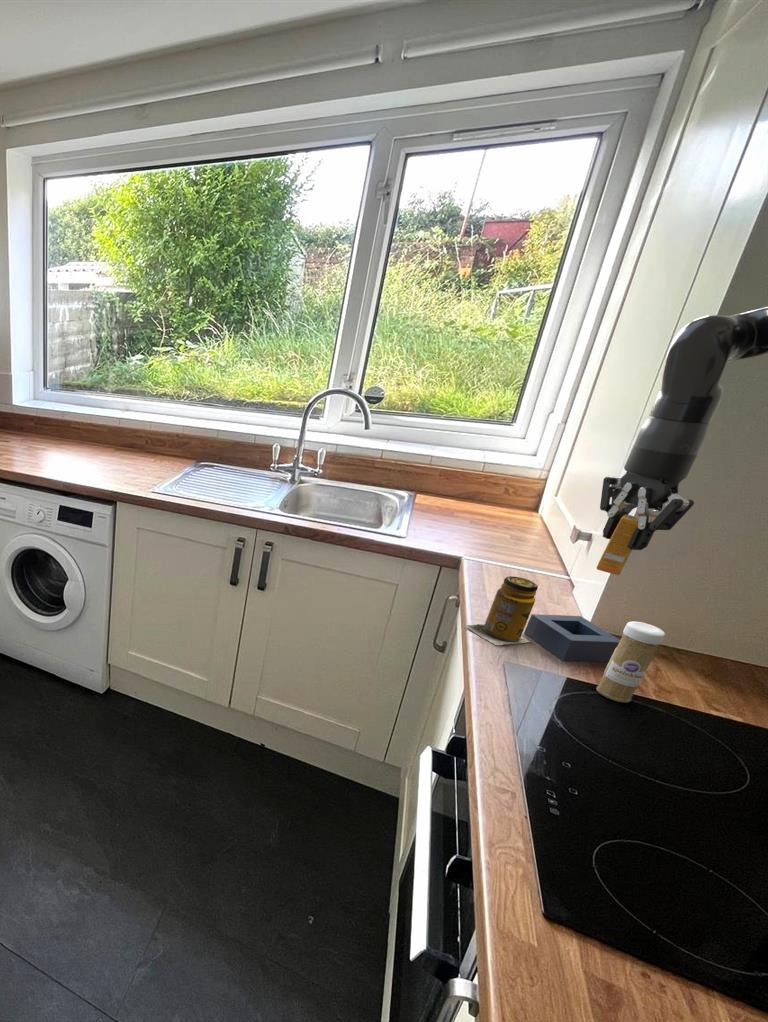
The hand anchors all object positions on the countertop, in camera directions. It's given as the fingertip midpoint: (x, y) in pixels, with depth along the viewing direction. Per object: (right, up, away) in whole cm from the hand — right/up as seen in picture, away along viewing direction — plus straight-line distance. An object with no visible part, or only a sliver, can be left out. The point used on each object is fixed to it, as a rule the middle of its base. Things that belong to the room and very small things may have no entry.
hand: (622, 543), depth 101 cm
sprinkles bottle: (-3, -26, -2) cm, 27 cm away
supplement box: (0, -5, +2) cm, 5 cm away
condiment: (-9, -19, +16) cm, 26 cm away
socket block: (+1, -20, +12) cm, 24 cm away
